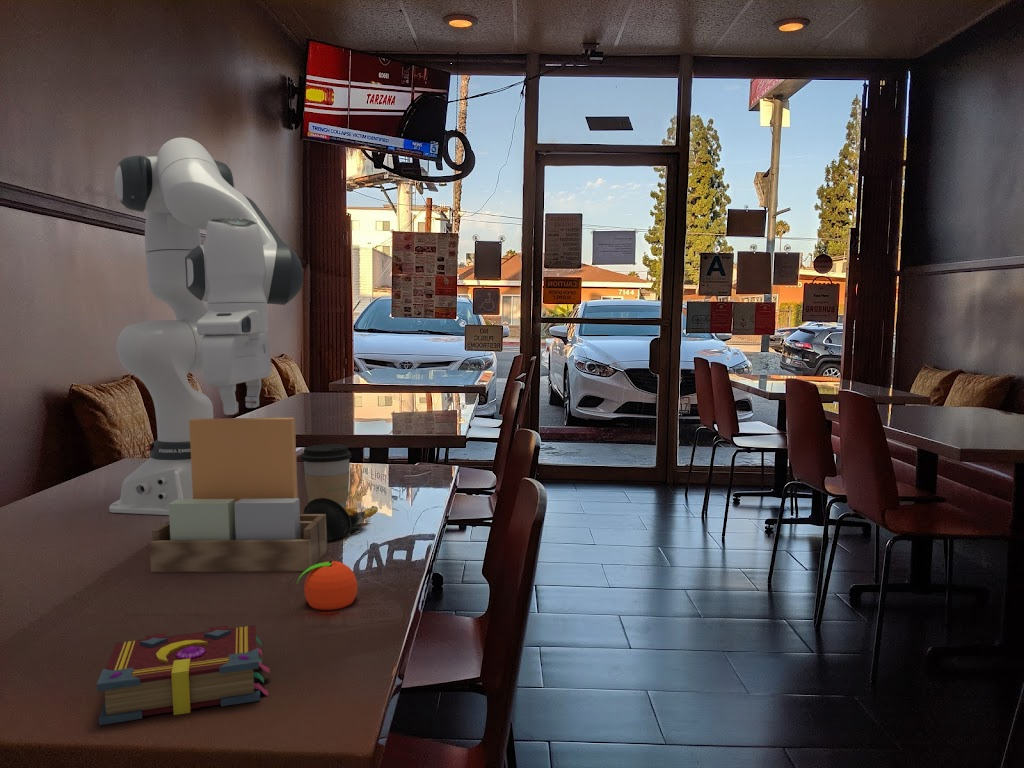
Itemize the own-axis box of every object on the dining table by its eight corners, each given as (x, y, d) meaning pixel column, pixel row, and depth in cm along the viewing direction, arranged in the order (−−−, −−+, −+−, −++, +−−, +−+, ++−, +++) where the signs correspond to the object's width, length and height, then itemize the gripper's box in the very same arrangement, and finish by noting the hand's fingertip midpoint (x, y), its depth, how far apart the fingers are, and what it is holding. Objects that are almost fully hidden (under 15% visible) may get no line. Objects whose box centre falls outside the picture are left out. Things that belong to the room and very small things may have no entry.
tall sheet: (195, 557, 128) (189, 420, 126) (200, 554, 130) (194, 418, 128) (296, 557, 128) (291, 419, 126) (299, 553, 130) (294, 417, 128)
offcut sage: (171, 568, 123) (168, 503, 122) (180, 562, 126) (177, 499, 125) (230, 568, 123) (227, 503, 122) (237, 562, 126) (234, 498, 125)
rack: (151, 581, 122) (148, 532, 121) (181, 560, 132) (179, 515, 132) (310, 580, 121) (308, 531, 121) (327, 559, 132) (325, 514, 131)
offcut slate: (237, 568, 123) (234, 503, 122) (244, 562, 126) (241, 498, 125) (296, 567, 123) (293, 502, 122) (301, 561, 126) (299, 498, 125)
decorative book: (116, 680, 89) (113, 636, 89) (268, 658, 94) (267, 617, 94) (99, 729, 79) (96, 679, 78) (272, 702, 84) (270, 655, 83)
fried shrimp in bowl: (278, 525, 136) (324, 472, 152) (313, 576, 139) (354, 519, 155) (321, 508, 132) (363, 456, 148) (356, 562, 135) (393, 504, 151)
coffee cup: (341, 533, 147) (339, 452, 146) (293, 531, 149) (290, 451, 148) (361, 520, 156) (359, 443, 155) (316, 518, 158) (313, 442, 157)
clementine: (301, 627, 103) (299, 573, 102) (293, 609, 109) (291, 558, 109) (363, 617, 106) (362, 564, 105) (352, 600, 112) (350, 550, 112)
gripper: (241, 322, 136) (245, 404, 137) (191, 323, 116) (196, 418, 117) (278, 321, 136) (282, 403, 137) (235, 322, 116) (239, 418, 117)
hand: (242, 410), depth 127 cm, fingers open, 8 cm apart
